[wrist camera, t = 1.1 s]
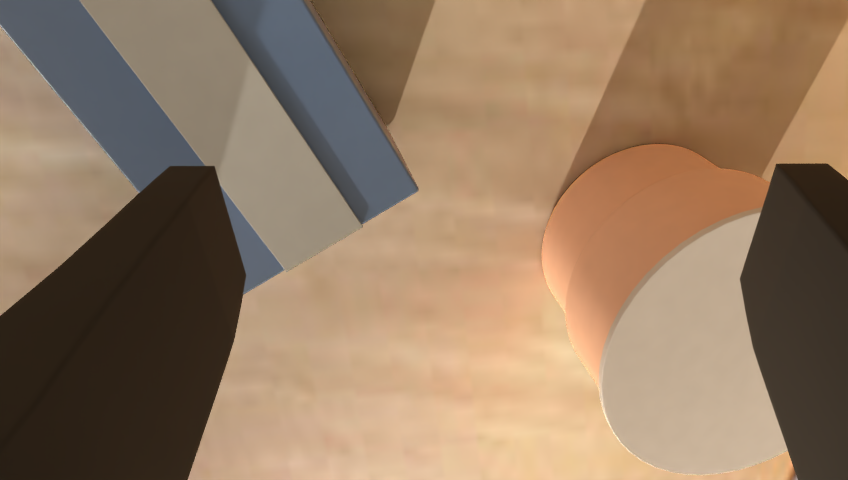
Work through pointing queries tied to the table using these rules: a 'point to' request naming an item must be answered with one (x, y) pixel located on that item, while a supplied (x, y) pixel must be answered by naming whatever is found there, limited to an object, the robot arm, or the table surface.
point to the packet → (224, 111)
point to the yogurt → (665, 305)
